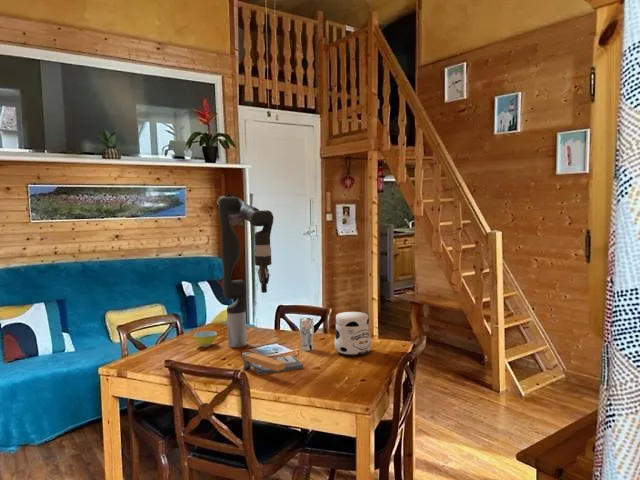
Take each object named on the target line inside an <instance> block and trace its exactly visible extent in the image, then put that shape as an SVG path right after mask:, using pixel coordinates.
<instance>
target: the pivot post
mask: <svg viewBox="0 0 640 480" xmlns="http://www.w3.org/2000/svg"><path fill="white" fill-rule="evenodd" d="M249 369H250V370H251V369H252V366H251V363H250V362H247V361H245V360H243V370H244V371H250V370H249Z"/></svg>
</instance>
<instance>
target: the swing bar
mask: <svg viewBox="0 0 640 480" xmlns="http://www.w3.org/2000/svg"><path fill="white" fill-rule="evenodd" d="M241 357H242V358H241V360H245V361H247V362H250V363H254V364H257V365H260V366H263V367H266V368H269V369H272V370H275V371H280V370H283V369H285V363H284V362H281V361H278V360H274V359H273V358H270V357H267V356H264V355H260V354H258V353H254V352H250V351H244V352H242V353H241Z"/></svg>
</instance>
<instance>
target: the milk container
mask: <svg viewBox="0 0 640 480" xmlns="http://www.w3.org/2000/svg"><path fill="white" fill-rule="evenodd" d="M333 344H334V348H335V351H336V352H337V353H338V354H340V355H343V356H351V357H352V356H356V357H357V356H361V355H362V356H363V355H365V354H367V353H369V352H370V350H371V346H372V339H371V336H370V321H369V315H368V313H365V312H360V311H343V312H339V313H337V314H336V315H335V337H334V343H333Z"/></svg>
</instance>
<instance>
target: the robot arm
mask: <svg viewBox="0 0 640 480" xmlns="http://www.w3.org/2000/svg"><path fill="white" fill-rule="evenodd" d="M217 203H218V204H217V209H218V217H219V223H220V234H221V235H220V237H221V238H220V239H221V241H220V242H221V254H222V255H221V256H222V294H223V297H224V299H225V300H235V299H236V300H235V301H234V302H232V303H231V304H230V305H227V307H226V319H227V324H226V325H227V343H228V344H227V345H228V346H227V347H229V348H242V347H245V346H247V345H248V344H247V318H246V316H247V315H246V306H247V301H246V300H247V286H246V283H245V281H244V280H243V279H234V280H233V279H232V274H233V271H234V269H235V266H236V264H237V262H238V260H239V259H240V257H241V252H242V251H241V241H240V238H239V236H238V235H237V234H236V232H235V230H234V229H233V228H232V226H231V224H230V218H229V216H235V215H236V216H237V215H240V217H241V218H242V219H243V220H246V221H248V222H249V223H250V225H251V226H253V227H262V228H261V230H260V231H256V232H255V233H254V265H255V266H258V270H257V275H258V280H259V283H260V287H261V289H260V290H261V291H260V292H261V293H263V294H264V293H265V294H266V293H267V292H268V287H267V285H268V284H269V280H270V275H271V274H270V273H269V268H268V266H271V265H272V264H273V263H272V246H271V233H272V228H273V224H274V219H275V218H274V214H273V213H272V211H270V210H267V209H266V210H260V209H259V208H257V207H255V206H252V205H249V204H248V203H246V202H245V201H243V200H242V199H241V198H240V197H237V196H220V198H219V199H218V202H217Z"/></svg>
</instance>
